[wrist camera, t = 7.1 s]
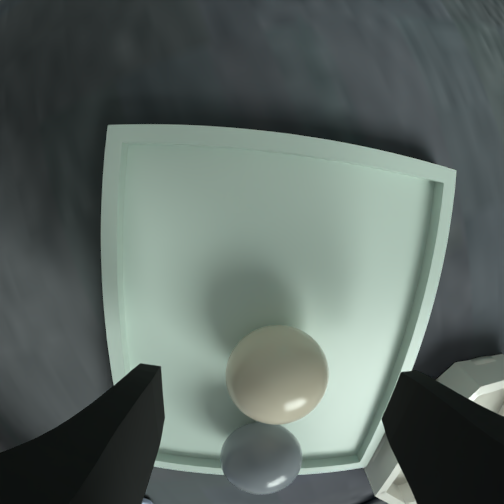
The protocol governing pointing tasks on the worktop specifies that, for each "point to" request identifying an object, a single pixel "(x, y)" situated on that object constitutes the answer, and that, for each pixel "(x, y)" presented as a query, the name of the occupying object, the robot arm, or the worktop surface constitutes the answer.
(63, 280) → the worktop surface
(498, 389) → the stoneware bowl
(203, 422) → the parts tray
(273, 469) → the pebble slate
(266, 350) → the beige round ball
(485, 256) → the worktop surface
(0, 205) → the worktop surface
